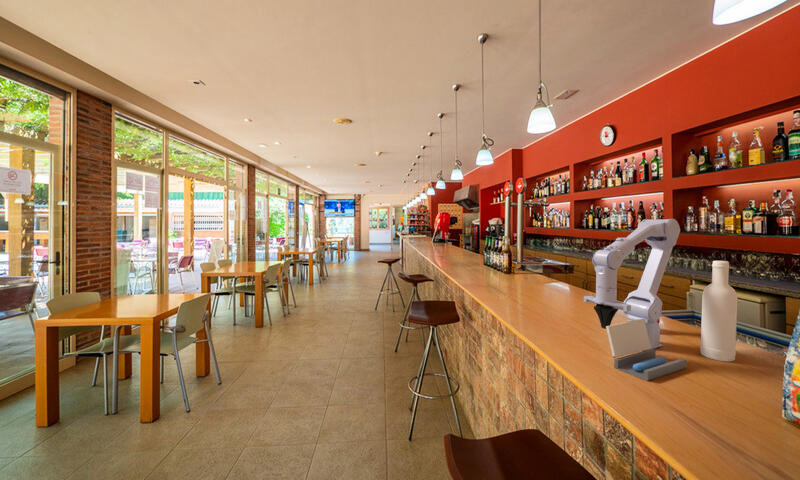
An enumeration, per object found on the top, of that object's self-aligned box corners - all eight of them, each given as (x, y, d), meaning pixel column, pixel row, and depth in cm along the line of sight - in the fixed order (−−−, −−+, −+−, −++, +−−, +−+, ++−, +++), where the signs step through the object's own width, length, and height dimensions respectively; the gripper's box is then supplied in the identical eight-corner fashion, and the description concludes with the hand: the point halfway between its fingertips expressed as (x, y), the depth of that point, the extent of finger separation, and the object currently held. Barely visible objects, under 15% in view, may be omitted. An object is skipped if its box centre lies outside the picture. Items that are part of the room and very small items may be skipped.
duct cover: (651, 348, 103) (648, 348, 104) (643, 318, 105) (641, 318, 105) (615, 358, 96) (613, 357, 97) (608, 326, 98) (605, 326, 99)
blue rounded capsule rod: (658, 361, 99) (658, 355, 99) (666, 364, 97) (666, 357, 97) (631, 370, 94) (631, 363, 94) (638, 373, 92) (638, 366, 92)
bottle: (734, 356, 103) (738, 260, 101) (736, 364, 97) (740, 263, 95) (700, 349, 108) (703, 259, 107) (699, 357, 103) (702, 261, 101)
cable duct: (651, 356, 103) (652, 348, 103) (686, 368, 95) (686, 359, 95) (614, 367, 96) (614, 359, 96) (647, 381, 88) (647, 371, 88)
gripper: (577, 284, 112) (577, 323, 113) (620, 292, 99) (619, 336, 99) (591, 282, 115) (591, 320, 115) (635, 290, 101) (634, 333, 102)
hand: (605, 327), depth 108 cm, fingers closed
